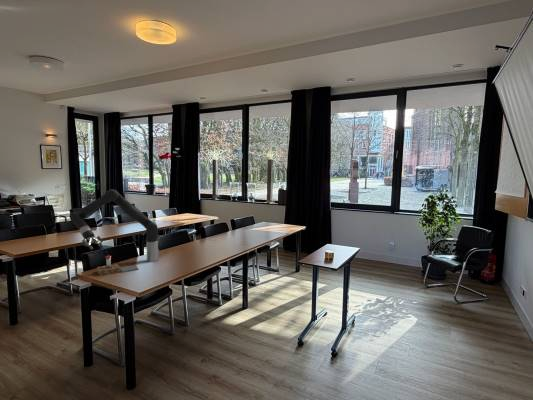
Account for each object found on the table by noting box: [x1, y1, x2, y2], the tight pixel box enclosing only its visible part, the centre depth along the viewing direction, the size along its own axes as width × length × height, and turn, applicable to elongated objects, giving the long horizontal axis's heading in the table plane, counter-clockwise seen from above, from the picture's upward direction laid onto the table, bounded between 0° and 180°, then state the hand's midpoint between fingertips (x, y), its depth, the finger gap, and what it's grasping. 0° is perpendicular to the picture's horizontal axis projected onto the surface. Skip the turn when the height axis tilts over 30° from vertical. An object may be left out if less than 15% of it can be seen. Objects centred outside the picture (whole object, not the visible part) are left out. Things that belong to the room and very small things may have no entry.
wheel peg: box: [105, 255, 112, 268], centre depth 239 cm, size 4×4×12 cm
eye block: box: [96, 263, 121, 276], centre depth 240 cm, size 14×12×4 cm
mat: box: [119, 264, 139, 273], centre depth 247 cm, size 12×12×1 cm
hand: (97, 248), depth 243 cm, fingers open, 8 cm apart
